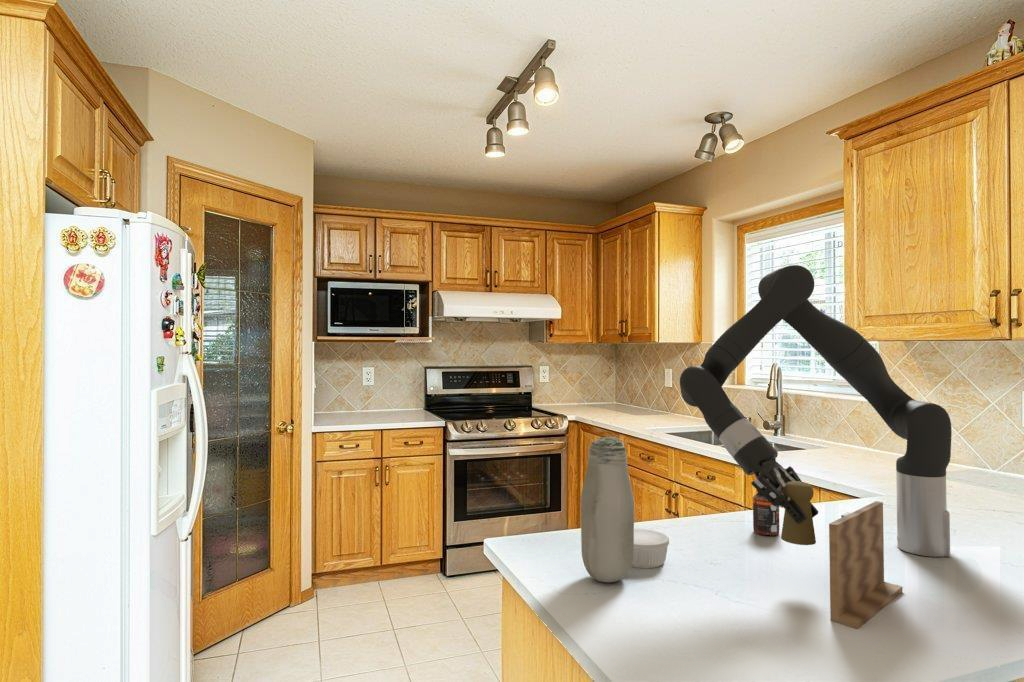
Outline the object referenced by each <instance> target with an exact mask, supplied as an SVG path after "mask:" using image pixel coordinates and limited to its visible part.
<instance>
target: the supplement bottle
mask: <svg viewBox="0 0 1024 682" xmlns="http://www.w3.org/2000/svg"><path fill="white" fill-rule="evenodd" d="M769 495H770V494H769ZM774 499H775V498H774ZM752 518H753V519H752V523H753V524H752V528H753V532H754V533H756V534H757V533H758V534H757V535H760V534H761V536H765V535H770V536H769V537H772V536H771V535H776V536H778V535H779V534H780V506H779V505H777V506H774V505H773V504H771V503H770V502H769V501H768V500H767V499H766V498H765V497H764V496H763V495H762V494H761V493H760V492H759V491H758V490H757V489H756V494H754V495H753V497H752ZM777 534H778V535H777Z"/></svg>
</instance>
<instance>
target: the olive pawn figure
mask: <svg viewBox="0 0 1024 682" xmlns="http://www.w3.org/2000/svg"><path fill="white" fill-rule="evenodd" d="M785 484H786V492H787V493H788V495H789V496H790V497H791V498H792V501H795V503H796V504H797V505H798V506H799V507H800V509H801V510H802V511H803V512H804V513H805V514H806V516H807V519H805V520H804V521H803V522H802V523H799V524H798V523H796V522H795V521H794V519H793V518H792V517H791V516H790V515H789V513H788V512H787V511H786V510H785V509H784V515H783V522H782V529H781V534H780V535H781V536H780V539H781V540H782V541H784V542H786V543H789V544H794V545H799V546H810V545H811V546H813V545H816V543H817V541H816V533H815V527H814V526H815V525H814V520H813V518H814V517H813V518H812V511H811V504H810V502H811V501H812V499H813V497H814V489H813V487H812V485H811V484H809V483H806V482H804V481H802V482H800V481H790V482H787V483H785ZM792 501H791V502H792Z"/></svg>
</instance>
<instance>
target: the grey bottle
mask: <svg viewBox="0 0 1024 682" xmlns="http://www.w3.org/2000/svg"><path fill="white" fill-rule="evenodd" d="M592 441H593V442H591V444H590V446H589V448H588V453H587V464H586V466H587V467H586V472H585V476H584V480H583V485H582V489H581V495H580V535H581V536H580V539H581V541H580V542H581V546H580V547H581V557H582V562H583V565H584V568H585V570H586V572H587V574H588V575H589V576H590V577H591V578H593V579H595V580H597V581H599V582H602V583H608V584H609V583H610V584H611V583H616V582H617V581H620V580H622V579H624V578H625V577H626V576H627V575H628V574H629V572H630V571H631V569H632V563H633V557H634V529H635V499H634V498H635V497H634V492H633V488H632V483H631V479H630V474H629V469H628V461H627V460H628V457H627V456H628V455H627V449H626V447H625V445H624V443H623V442H622V441H621V440H620V439H619V438H617V437H614V436H602V437H598V438H596V439H595V440H592Z"/></svg>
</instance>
